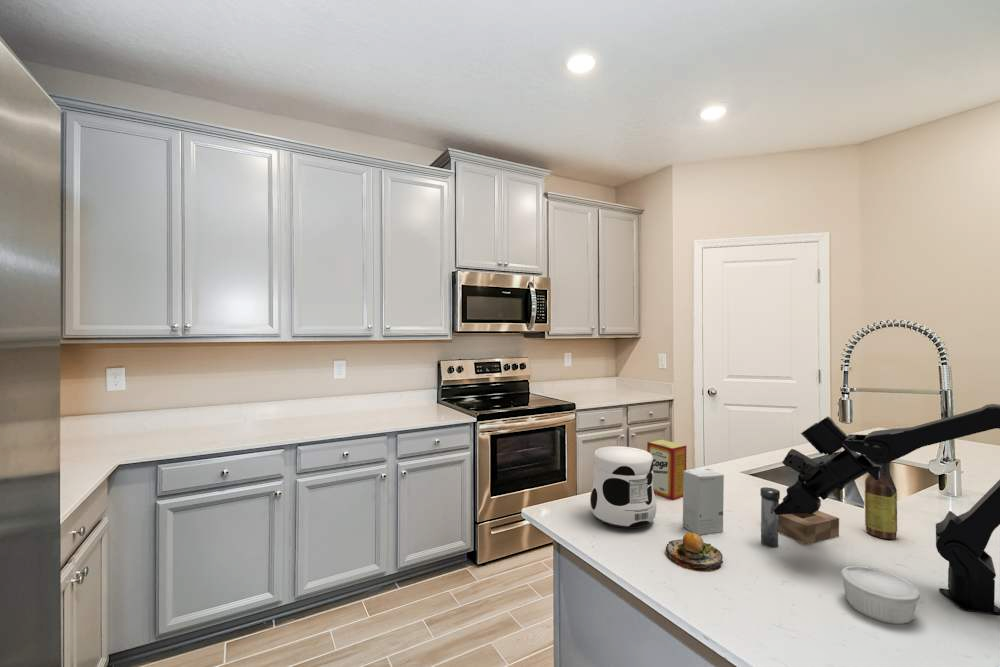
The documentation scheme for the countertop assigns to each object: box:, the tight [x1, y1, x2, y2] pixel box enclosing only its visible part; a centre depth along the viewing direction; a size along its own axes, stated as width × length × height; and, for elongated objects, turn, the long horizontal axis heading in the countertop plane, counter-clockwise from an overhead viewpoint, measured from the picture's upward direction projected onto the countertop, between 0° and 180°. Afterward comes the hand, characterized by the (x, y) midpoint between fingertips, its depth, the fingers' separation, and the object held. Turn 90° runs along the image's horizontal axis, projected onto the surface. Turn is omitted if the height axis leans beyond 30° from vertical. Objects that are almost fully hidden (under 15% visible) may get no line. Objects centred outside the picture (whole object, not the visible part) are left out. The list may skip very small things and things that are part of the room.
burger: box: [665, 531, 724, 572], centre depth 103 cm, size 12×12×8 cm
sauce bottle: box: [864, 459, 898, 540], centre depth 114 cm, size 7×6×20 cm
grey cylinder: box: [759, 486, 781, 549], centre depth 109 cm, size 4×4×13 cm
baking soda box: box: [646, 439, 687, 501], centre depth 142 cm, size 10×6×16 cm
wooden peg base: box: [778, 502, 840, 546], centre depth 116 cm, size 12×12×4 cm
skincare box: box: [682, 468, 725, 536], centre depth 117 cm, size 8×6×15 cm
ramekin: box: [840, 565, 920, 625], centre depth 84 cm, size 11×11×5 cm
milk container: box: [589, 445, 657, 529], centre depth 122 cm, size 17×17×18 cm
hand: (779, 506), depth 107 cm, fingers open, 9 cm apart
